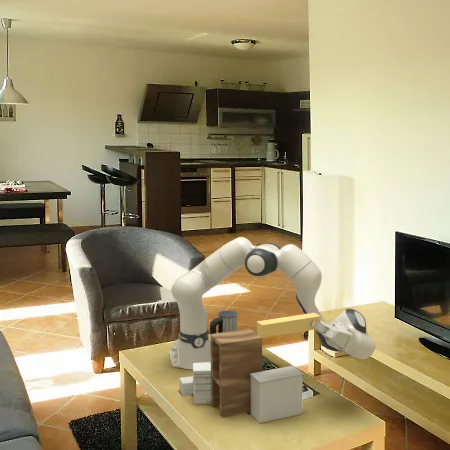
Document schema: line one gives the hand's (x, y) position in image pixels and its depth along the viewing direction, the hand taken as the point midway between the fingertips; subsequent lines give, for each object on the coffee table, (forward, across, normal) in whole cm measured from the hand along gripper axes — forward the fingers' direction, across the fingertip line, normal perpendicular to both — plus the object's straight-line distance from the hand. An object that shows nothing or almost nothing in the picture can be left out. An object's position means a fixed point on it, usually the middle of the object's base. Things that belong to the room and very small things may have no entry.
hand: (307, 320), depth 201 cm
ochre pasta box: (+5, 0, +6) cm, 8 cm away
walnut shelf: (+4, -10, +38) cm, 40 cm away
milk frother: (-14, -61, +28) cm, 69 cm away
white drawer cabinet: (+11, -20, +43) cm, 48 cm away
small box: (+14, -28, +44) cm, 54 cm away
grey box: (-5, 0, +33) cm, 34 cm away
